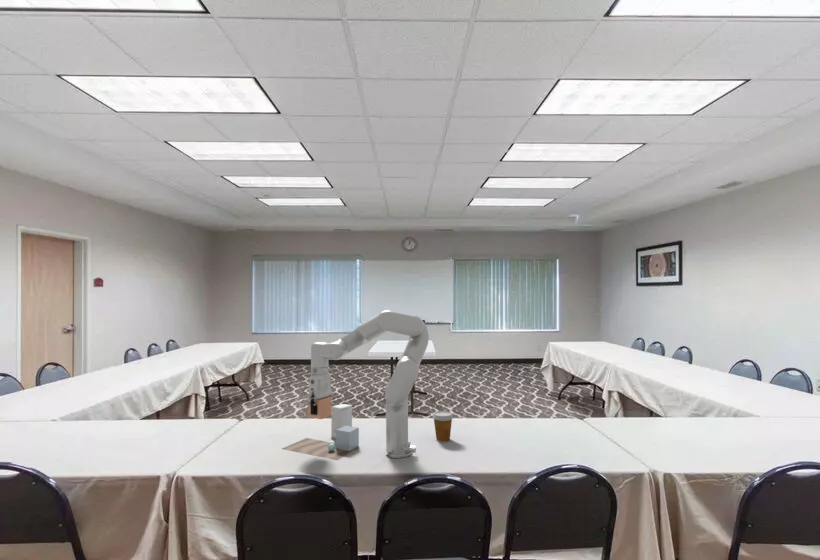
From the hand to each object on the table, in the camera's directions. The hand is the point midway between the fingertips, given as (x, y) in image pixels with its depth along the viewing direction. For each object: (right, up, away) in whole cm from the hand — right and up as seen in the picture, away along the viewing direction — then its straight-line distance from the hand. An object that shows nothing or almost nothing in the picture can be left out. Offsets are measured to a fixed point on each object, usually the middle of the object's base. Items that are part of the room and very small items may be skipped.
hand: (319, 411), depth 181 cm
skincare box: (+6, -19, +18) cm, 27 cm away
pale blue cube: (+12, -16, +2) cm, 20 cm away
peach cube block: (0, -2, 0) cm, 2 cm away
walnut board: (0, -18, +1) cm, 18 cm away
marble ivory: (+5, -13, +3) cm, 15 cm away
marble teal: (+6, -13, -2) cm, 14 cm away
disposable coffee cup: (+55, -18, +16) cm, 60 cm away
